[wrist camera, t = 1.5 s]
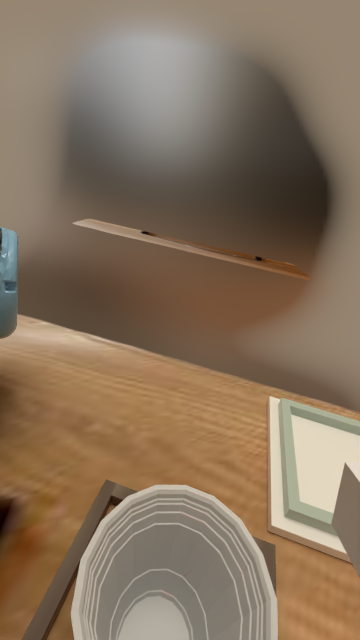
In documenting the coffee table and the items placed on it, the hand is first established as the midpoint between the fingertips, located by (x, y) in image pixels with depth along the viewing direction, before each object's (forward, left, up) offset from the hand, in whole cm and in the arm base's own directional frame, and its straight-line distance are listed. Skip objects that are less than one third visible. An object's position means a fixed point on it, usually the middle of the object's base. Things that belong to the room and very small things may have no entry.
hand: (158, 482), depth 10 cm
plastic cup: (+2, +1, -21) cm, 21 cm away
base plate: (+20, +21, -21) cm, 36 cm away
